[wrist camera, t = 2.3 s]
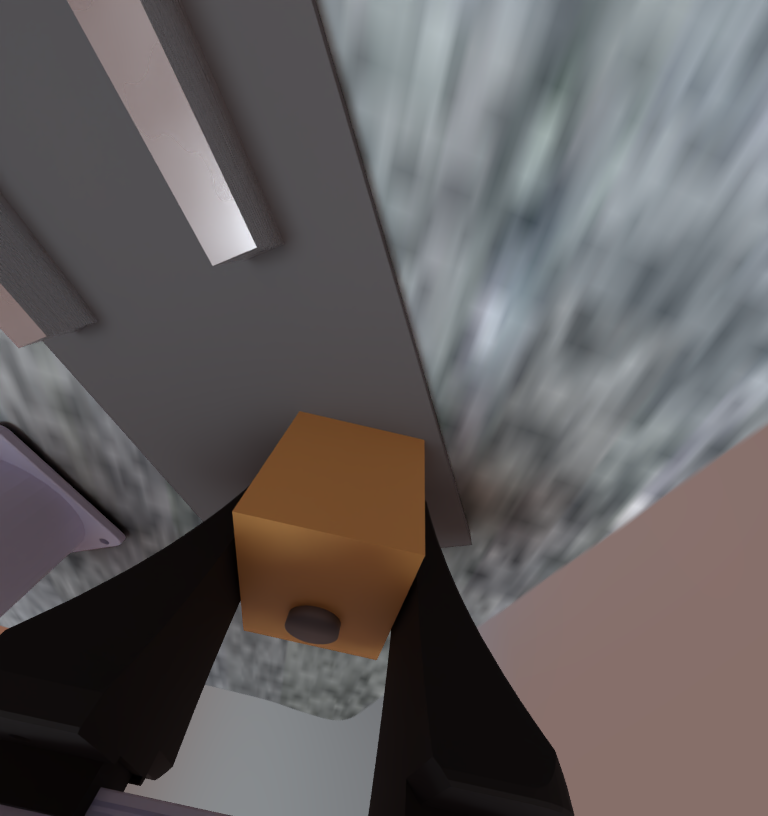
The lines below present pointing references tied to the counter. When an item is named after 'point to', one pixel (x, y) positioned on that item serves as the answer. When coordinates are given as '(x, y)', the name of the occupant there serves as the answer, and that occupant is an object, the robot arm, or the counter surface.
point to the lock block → (331, 535)
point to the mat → (191, 268)
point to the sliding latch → (171, 149)
